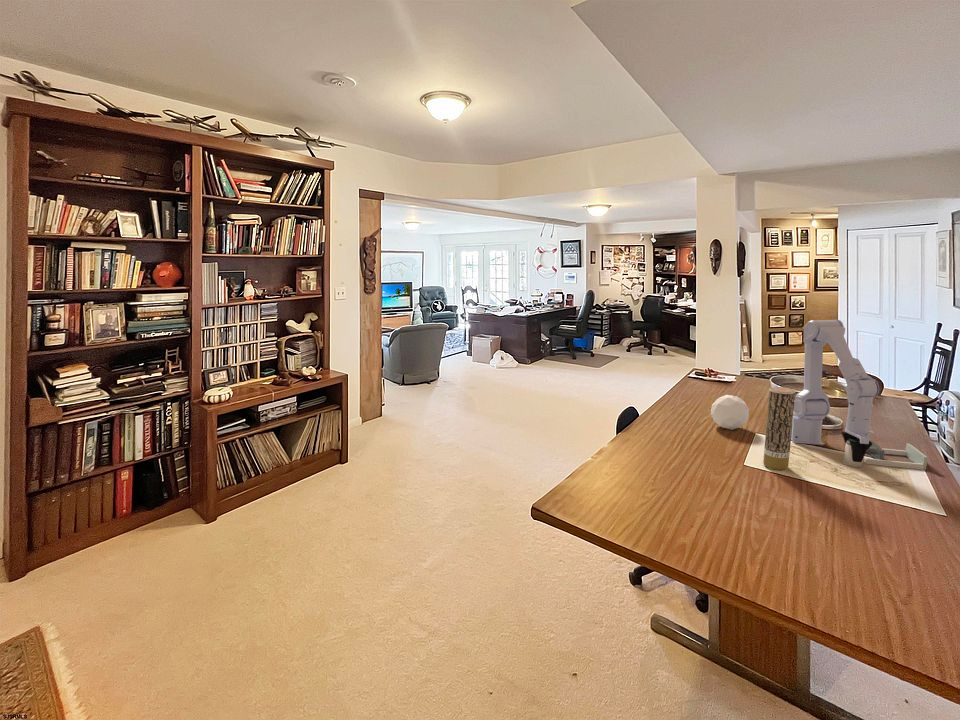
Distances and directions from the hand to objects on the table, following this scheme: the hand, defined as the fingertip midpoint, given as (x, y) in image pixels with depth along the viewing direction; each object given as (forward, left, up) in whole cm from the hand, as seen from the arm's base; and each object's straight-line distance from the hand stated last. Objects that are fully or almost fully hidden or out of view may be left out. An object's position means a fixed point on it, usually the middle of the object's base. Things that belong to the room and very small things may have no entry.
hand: (853, 458), depth 153 cm
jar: (0, 0, -2) cm, 2 cm away
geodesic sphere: (-33, +28, -2) cm, 43 cm away
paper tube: (-23, -10, -2) cm, 25 cm away
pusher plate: (+8, +8, -2) cm, 11 cm away
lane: (+11, +8, -2) cm, 14 cm away
